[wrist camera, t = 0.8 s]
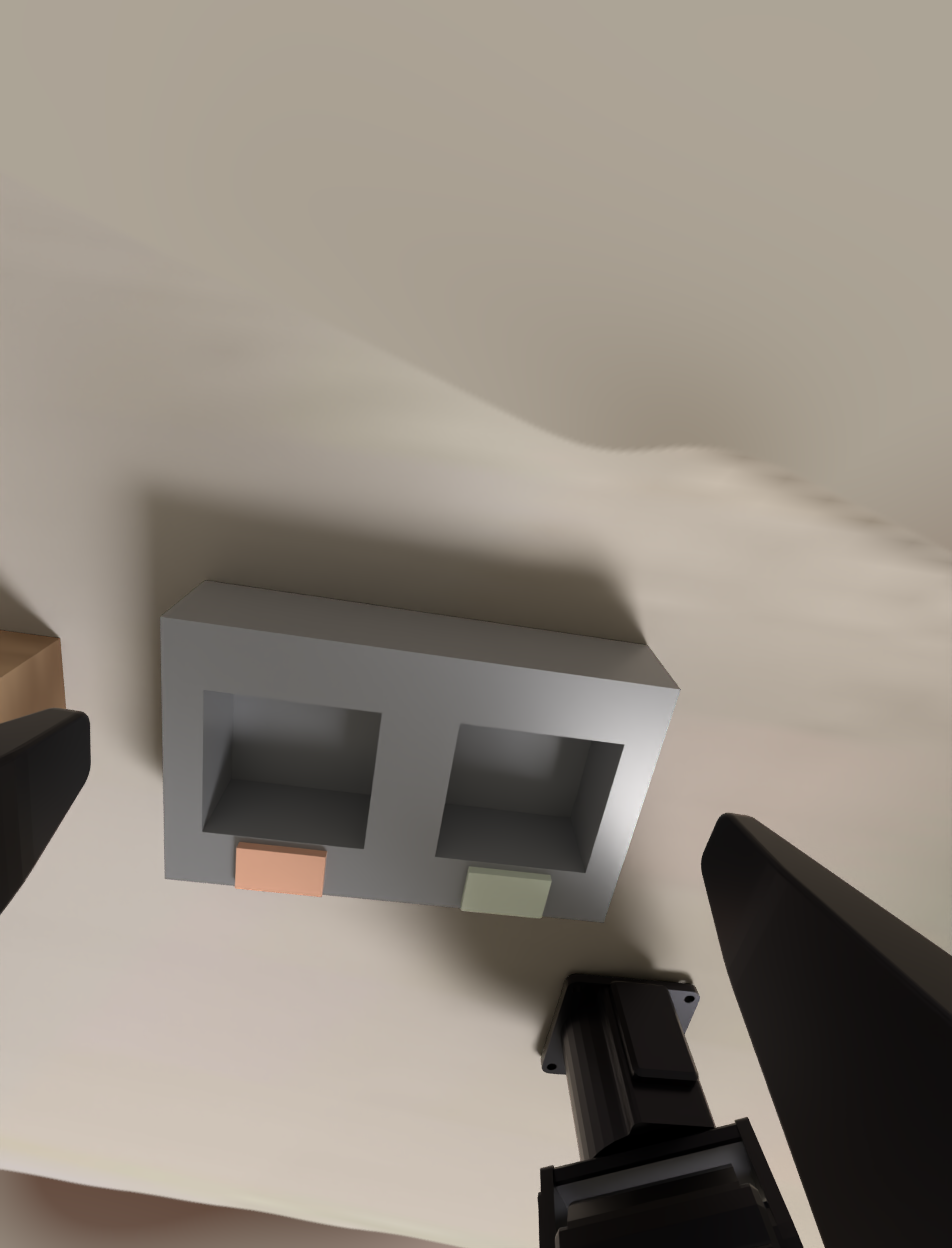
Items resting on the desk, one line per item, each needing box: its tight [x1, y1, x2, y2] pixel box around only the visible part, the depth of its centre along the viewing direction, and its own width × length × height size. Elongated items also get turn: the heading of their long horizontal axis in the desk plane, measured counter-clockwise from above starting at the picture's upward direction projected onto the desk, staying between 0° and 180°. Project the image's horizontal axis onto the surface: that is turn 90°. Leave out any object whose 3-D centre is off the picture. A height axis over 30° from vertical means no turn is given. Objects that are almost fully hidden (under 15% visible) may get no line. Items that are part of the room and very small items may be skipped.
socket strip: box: [160, 580, 681, 923], centre depth 22 cm, size 10×16×4 cm, turn 80°
